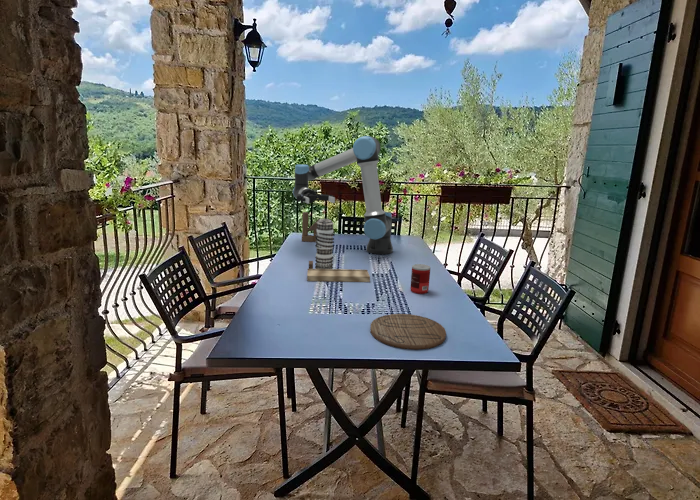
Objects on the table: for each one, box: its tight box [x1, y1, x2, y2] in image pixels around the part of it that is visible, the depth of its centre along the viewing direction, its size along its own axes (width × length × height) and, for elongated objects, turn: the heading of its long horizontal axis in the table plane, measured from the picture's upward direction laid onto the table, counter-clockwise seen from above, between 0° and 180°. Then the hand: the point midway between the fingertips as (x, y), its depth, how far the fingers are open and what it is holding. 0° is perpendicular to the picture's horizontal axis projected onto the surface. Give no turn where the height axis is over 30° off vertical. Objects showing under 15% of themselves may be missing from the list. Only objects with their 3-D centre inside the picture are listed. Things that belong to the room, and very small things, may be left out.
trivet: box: [369, 313, 447, 351], centre depth 146 cm, size 25×25×2 cm
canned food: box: [409, 263, 431, 295], centre depth 186 cm, size 8×8×11 cm
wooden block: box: [301, 211, 321, 243], centre depth 269 cm, size 4×11×18 cm, turn 93°
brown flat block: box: [308, 260, 314, 269], centre depth 210 cm, size 2×6×4 cm, turn 5°
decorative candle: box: [314, 218, 335, 269], centre depth 208 cm, size 9×9×25 cm
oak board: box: [306, 268, 371, 283], centre depth 201 cm, size 28×11×3 cm, turn 95°
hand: (321, 200), depth 217 cm, fingers open, 13 cm apart
